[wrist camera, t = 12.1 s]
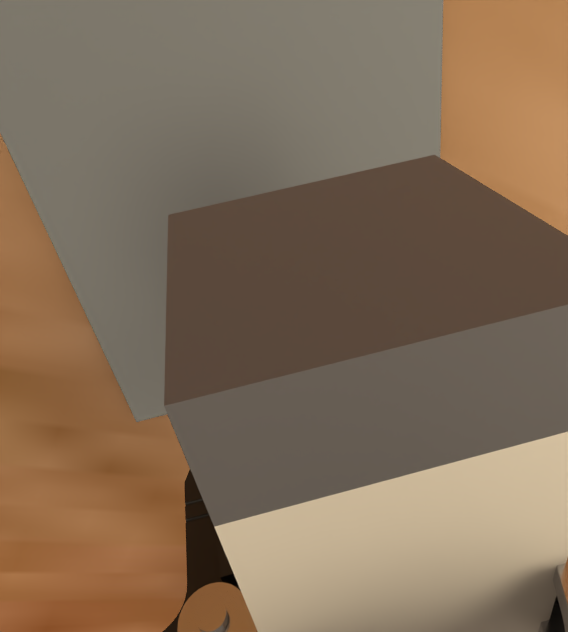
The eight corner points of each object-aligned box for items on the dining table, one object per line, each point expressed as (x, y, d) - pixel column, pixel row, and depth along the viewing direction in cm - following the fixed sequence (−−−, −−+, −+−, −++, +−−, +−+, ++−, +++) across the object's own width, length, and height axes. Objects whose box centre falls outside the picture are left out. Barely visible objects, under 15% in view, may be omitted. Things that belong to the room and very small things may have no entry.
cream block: (430, 561, 17) (434, 154, 9) (513, 742, 13) (647, 284, 5) (289, 600, 17) (168, 214, 9) (327, 799, 13) (163, 406, 5)
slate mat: (137, 416, 32) (136, 421, 32) (-74, -37, 18) (-80, -37, 18) (433, 342, 33) (436, 346, 33) (440, -132, 20) (445, -134, 19)
